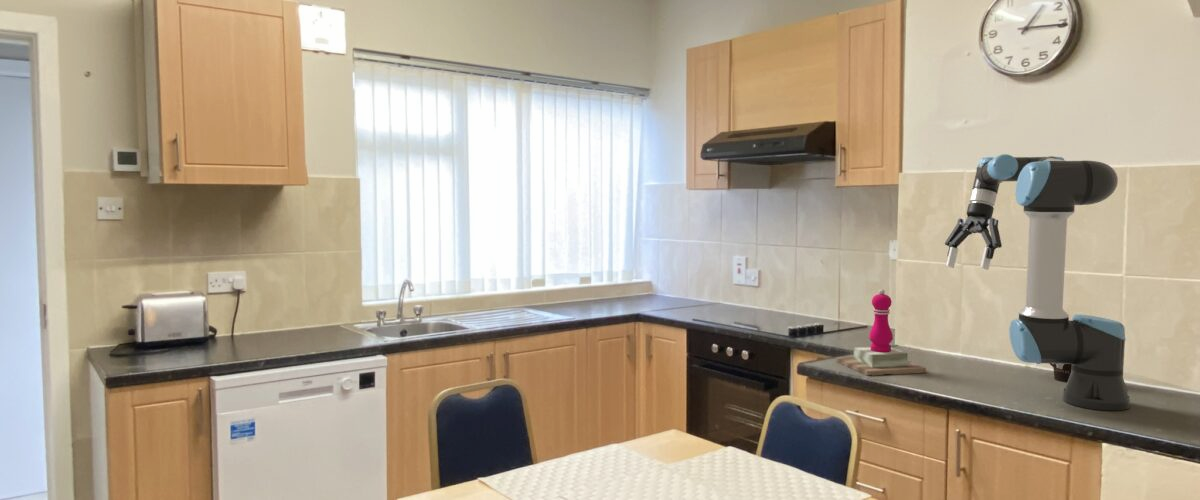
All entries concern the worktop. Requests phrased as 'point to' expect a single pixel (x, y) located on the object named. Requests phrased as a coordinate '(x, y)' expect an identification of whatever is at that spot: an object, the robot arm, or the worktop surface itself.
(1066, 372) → the coffee mug
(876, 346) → the pepper mill
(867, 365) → the base
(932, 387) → the worktop surface
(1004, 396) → the worktop surface
